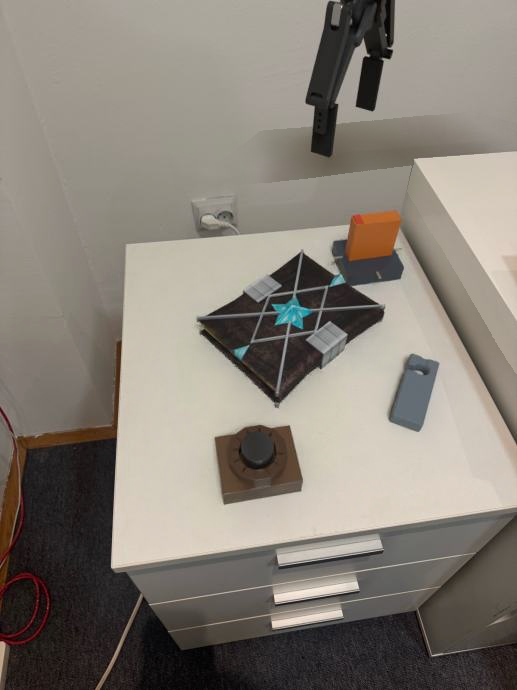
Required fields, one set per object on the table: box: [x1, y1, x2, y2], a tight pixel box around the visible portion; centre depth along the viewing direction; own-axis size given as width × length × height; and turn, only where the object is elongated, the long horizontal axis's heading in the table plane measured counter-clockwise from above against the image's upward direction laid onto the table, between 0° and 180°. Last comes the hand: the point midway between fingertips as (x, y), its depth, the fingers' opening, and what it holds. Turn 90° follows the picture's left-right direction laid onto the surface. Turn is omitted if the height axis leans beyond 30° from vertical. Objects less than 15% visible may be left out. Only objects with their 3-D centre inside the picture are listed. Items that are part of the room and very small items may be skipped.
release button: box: [241, 431, 274, 468], centre depth 53 cm, size 4×4×2 cm
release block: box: [214, 424, 304, 505], centre depth 56 cm, size 9×7×5 cm
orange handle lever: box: [345, 209, 403, 261], centre depth 74 cm, size 7×2×7 cm, turn 101°
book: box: [195, 248, 386, 409], centre depth 69 cm, size 22×17×5 cm
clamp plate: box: [331, 238, 405, 287], centre depth 78 cm, size 11×11×3 cm
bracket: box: [389, 353, 440, 432], centre depth 63 cm, size 4×10×2 cm, turn 156°
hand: (344, 129), depth 66 cm, fingers open, 13 cm apart
